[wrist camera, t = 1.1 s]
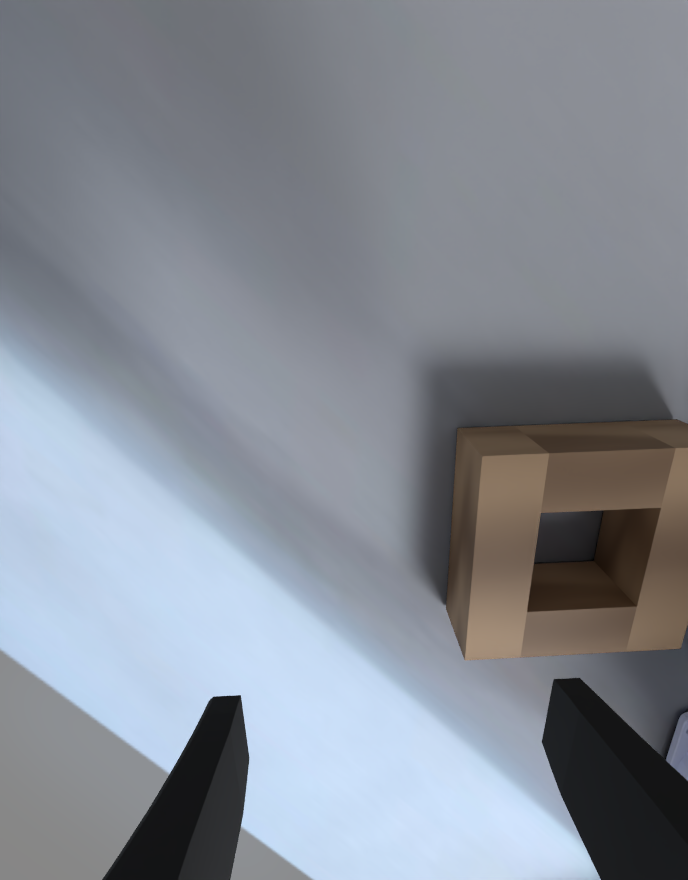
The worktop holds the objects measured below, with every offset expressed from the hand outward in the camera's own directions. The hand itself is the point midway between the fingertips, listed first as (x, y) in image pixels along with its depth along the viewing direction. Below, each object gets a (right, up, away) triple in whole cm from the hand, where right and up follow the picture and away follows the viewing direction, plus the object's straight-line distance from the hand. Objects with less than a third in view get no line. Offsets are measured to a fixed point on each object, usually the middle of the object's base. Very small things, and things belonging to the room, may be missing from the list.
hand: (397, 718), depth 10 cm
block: (+8, +3, +9) cm, 13 cm away
